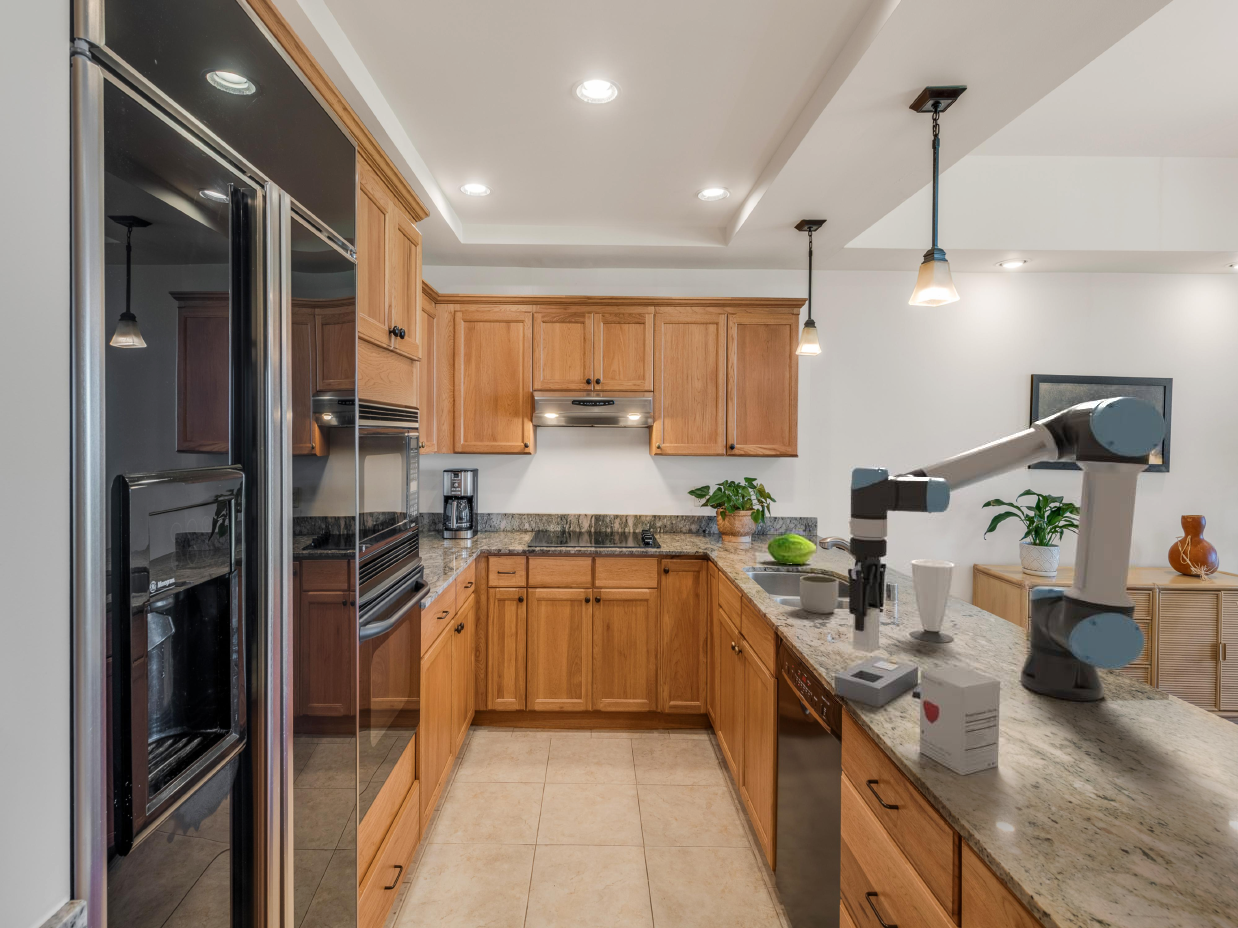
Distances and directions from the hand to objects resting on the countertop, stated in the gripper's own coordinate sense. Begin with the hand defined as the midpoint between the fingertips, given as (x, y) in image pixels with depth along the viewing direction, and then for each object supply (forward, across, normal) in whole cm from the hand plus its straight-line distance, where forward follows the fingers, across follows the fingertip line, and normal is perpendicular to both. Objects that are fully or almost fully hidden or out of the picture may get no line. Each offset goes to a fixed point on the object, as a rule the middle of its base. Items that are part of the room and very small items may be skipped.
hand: (866, 642), depth 135 cm
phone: (+11, -11, +13) cm, 21 cm away
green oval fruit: (+12, -127, -98) cm, 161 cm away
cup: (+11, -55, -7) cm, 57 cm away
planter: (+12, -57, -44) cm, 73 cm away
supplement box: (+12, +16, +24) cm, 31 cm away
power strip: (+11, -5, 0) cm, 13 cm away
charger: (+1, 0, 0) cm, 1 cm away
